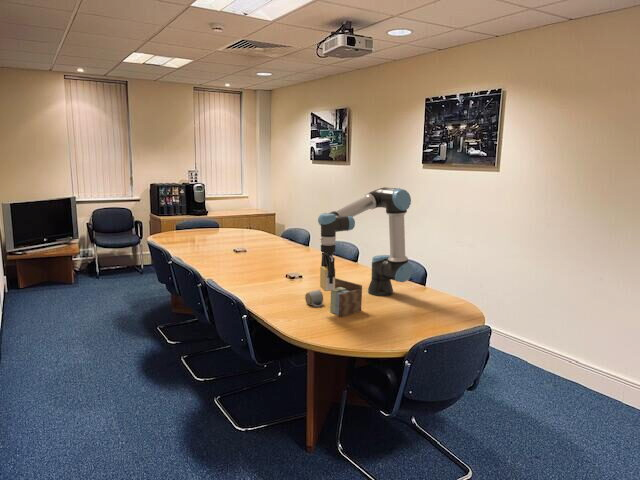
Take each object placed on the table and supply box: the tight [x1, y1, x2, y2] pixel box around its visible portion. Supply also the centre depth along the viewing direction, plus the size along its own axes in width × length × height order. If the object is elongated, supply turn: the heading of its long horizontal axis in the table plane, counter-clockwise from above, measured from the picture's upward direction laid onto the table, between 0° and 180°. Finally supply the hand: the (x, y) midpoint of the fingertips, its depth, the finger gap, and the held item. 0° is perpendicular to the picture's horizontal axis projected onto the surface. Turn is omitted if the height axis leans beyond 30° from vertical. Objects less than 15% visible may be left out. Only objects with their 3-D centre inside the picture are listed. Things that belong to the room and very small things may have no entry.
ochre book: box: [319, 266, 336, 292], centre depth 245 cm, size 8×6×11 cm
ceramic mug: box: [304, 289, 324, 308], centre depth 262 cm, size 11×8×8 cm
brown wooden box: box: [329, 277, 363, 318], centre depth 255 cm, size 16×20×14 cm
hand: (327, 287), depth 246 cm, fingers closed on ochre book, 8 cm apart
